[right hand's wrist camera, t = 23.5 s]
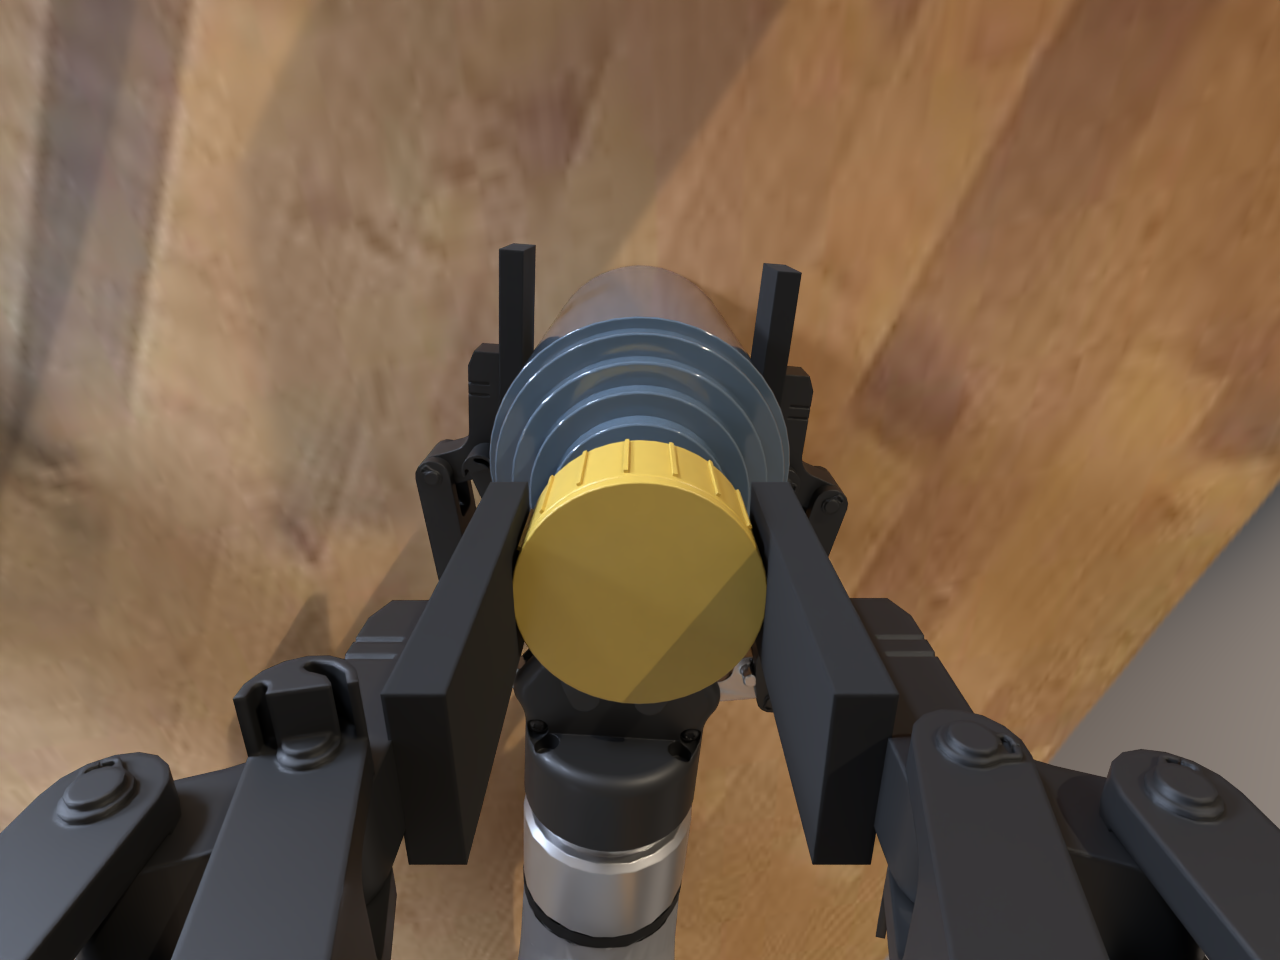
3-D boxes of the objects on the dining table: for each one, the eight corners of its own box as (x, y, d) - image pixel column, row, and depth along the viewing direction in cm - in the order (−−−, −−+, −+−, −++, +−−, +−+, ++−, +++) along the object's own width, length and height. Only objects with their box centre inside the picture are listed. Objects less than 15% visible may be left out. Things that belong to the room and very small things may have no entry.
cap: (554, 409, 14) (538, 447, 12) (784, 469, 14) (809, 517, 12) (506, 610, 15) (485, 675, 13) (713, 658, 16) (724, 728, 14)
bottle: (544, 435, 32) (426, 732, 14) (555, 255, 29) (424, 349, 12) (715, 452, 33) (807, 764, 15) (743, 276, 30) (899, 399, 12)
